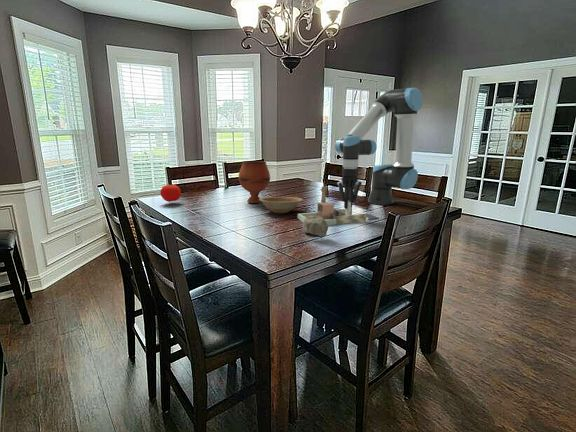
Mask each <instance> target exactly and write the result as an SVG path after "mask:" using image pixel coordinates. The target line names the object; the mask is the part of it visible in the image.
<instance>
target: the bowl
mask: <svg viewBox="0 0 576 432" xmlns="http://www.w3.org/2000/svg"><path fill="white" fill-rule="evenodd" d="M259 198H260V199H259V200H260V201H261V202H260V203H262V204H263V205H264V206H265V208H267V209H268V210H270V211H271V212H272V213H274V214H287V213H289V212H291V211H293V210H294V209H295V208H297V206H298V205H299V203H302V201H304V199H303V198H300V197H295V196H267V197H259Z"/></svg>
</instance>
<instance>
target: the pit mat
mask: <svg viewBox="0 0 576 432" xmlns="http://www.w3.org/2000/svg"><path fill="white" fill-rule="evenodd" d="M361 214H362V213H357V214H356V215H361ZM365 214H366V221H370V220H371V221H372V220H380V217H377V216H375V215H373V214H370V213H365Z"/></svg>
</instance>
